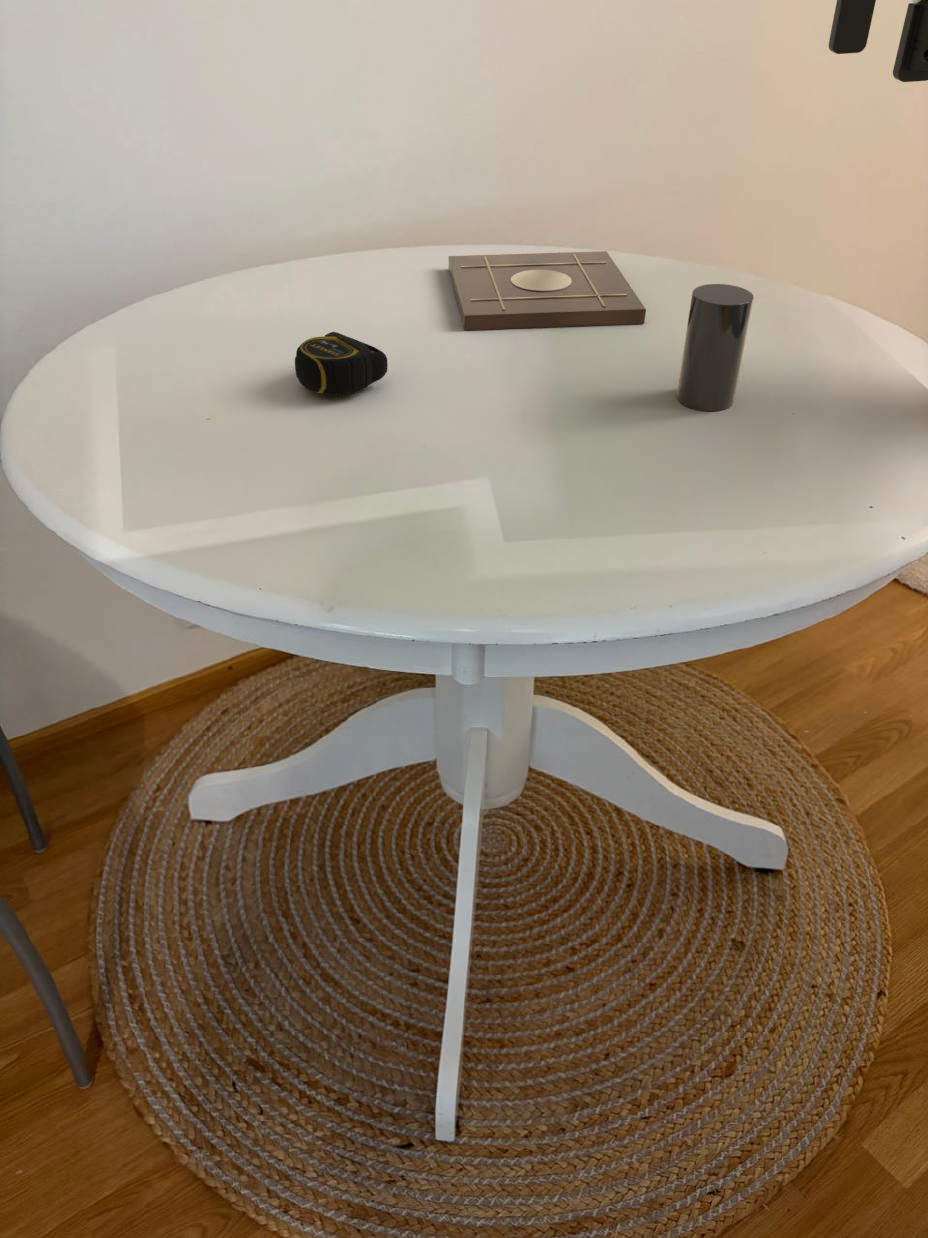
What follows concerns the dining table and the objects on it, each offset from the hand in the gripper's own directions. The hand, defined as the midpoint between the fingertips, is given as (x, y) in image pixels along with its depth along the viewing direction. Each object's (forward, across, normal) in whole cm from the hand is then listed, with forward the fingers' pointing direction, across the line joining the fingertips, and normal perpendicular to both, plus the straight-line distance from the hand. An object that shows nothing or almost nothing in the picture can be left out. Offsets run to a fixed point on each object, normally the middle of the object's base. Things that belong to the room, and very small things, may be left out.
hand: (876, 65), depth 57 cm
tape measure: (+26, +17, +34) cm, 46 cm away
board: (+27, +36, +13) cm, 47 cm away
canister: (+27, +10, +4) cm, 29 cm away
